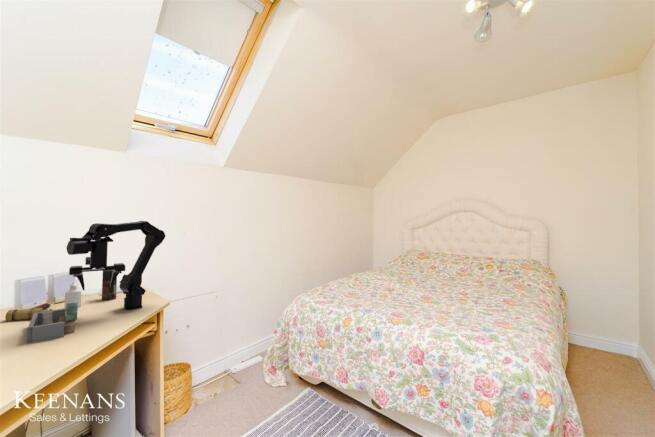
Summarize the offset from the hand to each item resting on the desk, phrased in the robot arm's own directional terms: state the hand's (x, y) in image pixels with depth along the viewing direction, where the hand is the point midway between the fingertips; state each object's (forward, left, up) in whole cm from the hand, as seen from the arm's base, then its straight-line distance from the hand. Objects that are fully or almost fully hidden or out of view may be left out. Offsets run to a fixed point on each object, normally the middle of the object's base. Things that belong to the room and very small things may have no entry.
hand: (97, 288), depth 125 cm
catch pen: (+14, +9, -12) cm, 21 cm away
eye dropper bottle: (+8, -20, -12) cm, 25 cm away
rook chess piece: (+15, +9, -12) cm, 21 cm away
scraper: (+9, +9, -12) cm, 18 cm away
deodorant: (-6, -28, -12) cm, 31 cm away
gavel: (+20, -20, -13) cm, 31 cm away
